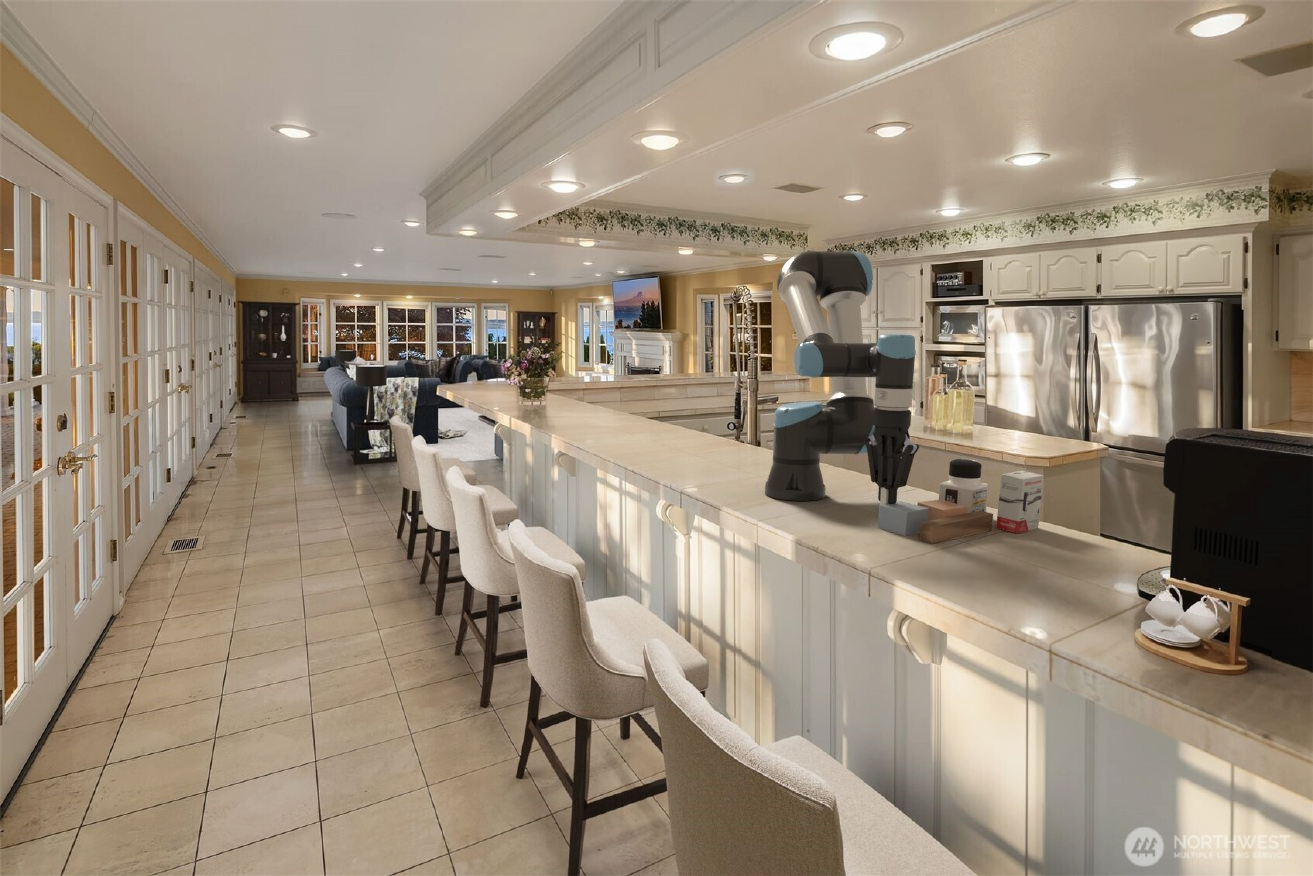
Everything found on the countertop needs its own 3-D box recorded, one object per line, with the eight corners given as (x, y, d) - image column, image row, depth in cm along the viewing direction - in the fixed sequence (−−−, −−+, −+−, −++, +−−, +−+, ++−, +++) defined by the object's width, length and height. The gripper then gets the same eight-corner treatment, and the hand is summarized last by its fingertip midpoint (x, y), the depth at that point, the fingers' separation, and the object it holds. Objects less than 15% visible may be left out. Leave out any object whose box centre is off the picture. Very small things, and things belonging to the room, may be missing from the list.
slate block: (877, 528, 149) (879, 505, 149) (899, 523, 153) (900, 501, 152) (905, 536, 144) (906, 512, 143) (927, 531, 147) (928, 508, 147)
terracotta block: (916, 524, 153) (917, 502, 152) (939, 521, 155) (941, 499, 155) (941, 533, 146) (943, 510, 145) (965, 529, 149) (967, 506, 148)
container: (970, 523, 154) (975, 464, 152) (936, 516, 159) (940, 459, 157) (986, 517, 159) (990, 460, 157) (952, 510, 164) (957, 455, 162)
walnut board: (919, 539, 141) (920, 522, 140) (978, 526, 151) (980, 510, 150) (932, 543, 138) (933, 526, 138) (991, 529, 148) (993, 513, 148)
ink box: (1017, 534, 146) (1022, 478, 144) (995, 528, 150) (999, 474, 148) (1039, 528, 150) (1045, 473, 148) (1017, 522, 154) (1022, 469, 153)
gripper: (856, 406, 152) (851, 512, 155) (906, 412, 141) (899, 526, 144) (880, 404, 156) (874, 508, 159) (930, 410, 145) (923, 521, 148)
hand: (886, 517), depth 152 cm, fingers closed
